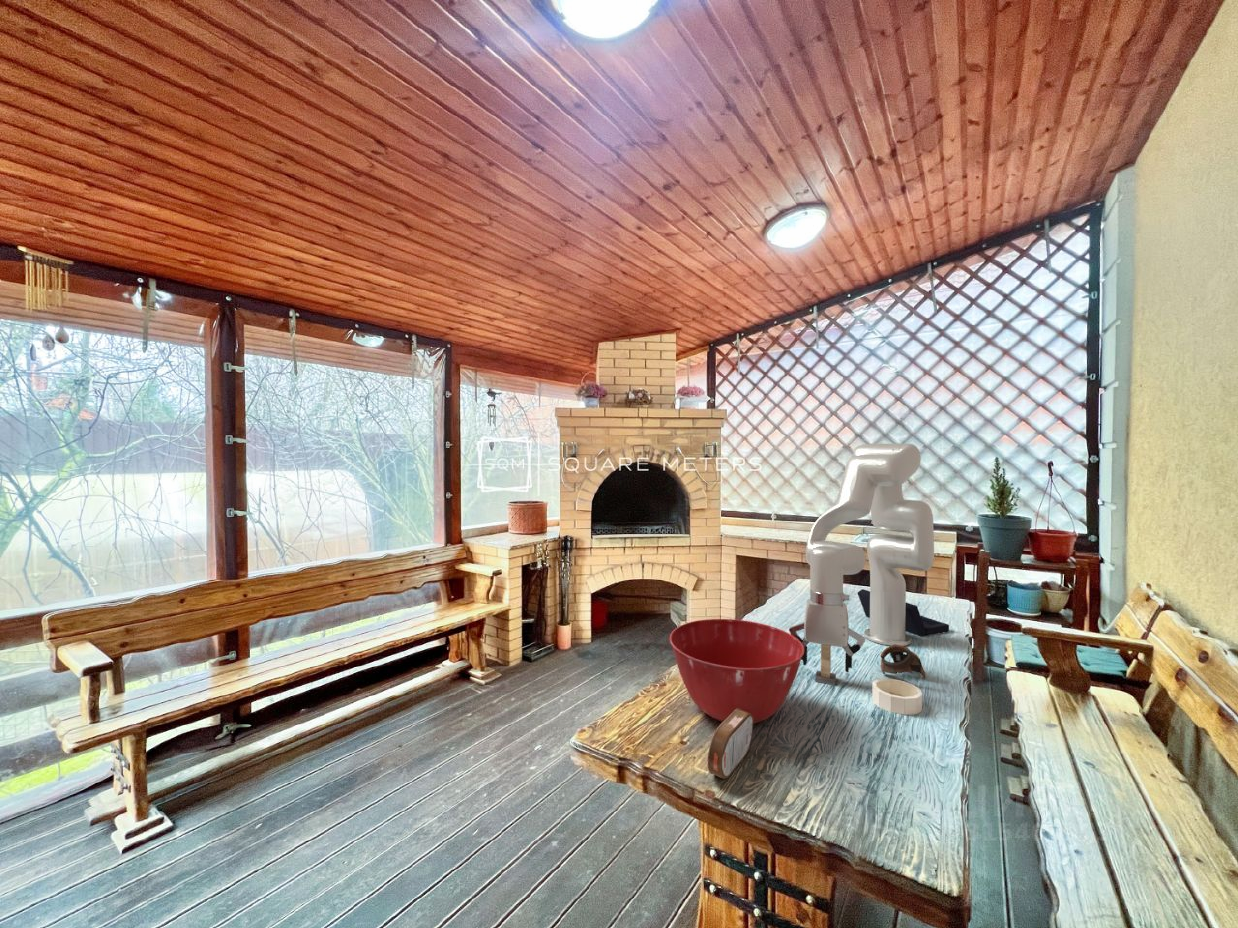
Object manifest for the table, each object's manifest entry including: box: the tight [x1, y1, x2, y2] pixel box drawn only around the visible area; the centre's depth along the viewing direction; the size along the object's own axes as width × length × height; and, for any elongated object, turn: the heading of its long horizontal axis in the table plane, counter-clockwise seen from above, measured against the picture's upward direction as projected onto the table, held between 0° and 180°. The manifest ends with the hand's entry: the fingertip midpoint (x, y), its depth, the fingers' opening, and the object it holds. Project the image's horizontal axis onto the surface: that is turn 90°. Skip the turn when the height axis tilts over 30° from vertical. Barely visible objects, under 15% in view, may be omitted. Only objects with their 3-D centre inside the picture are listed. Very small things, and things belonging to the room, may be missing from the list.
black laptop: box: [857, 588, 950, 637], centre depth 166 cm, size 21×16×10 cm
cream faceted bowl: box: [871, 678, 923, 716], centre depth 114 cm, size 10×10×4 cm
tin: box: [707, 708, 754, 779], centre depth 91 cm, size 15×3×8 cm, turn 144°
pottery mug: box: [880, 644, 926, 680], centre depth 129 cm, size 12×9×8 cm
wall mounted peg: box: [814, 644, 837, 686], centre depth 125 cm, size 4×4×10 cm
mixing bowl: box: [669, 618, 804, 725], centre depth 111 cm, size 28×28×16 cm
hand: (825, 666), depth 125 cm, fingers open, 9 cm apart
